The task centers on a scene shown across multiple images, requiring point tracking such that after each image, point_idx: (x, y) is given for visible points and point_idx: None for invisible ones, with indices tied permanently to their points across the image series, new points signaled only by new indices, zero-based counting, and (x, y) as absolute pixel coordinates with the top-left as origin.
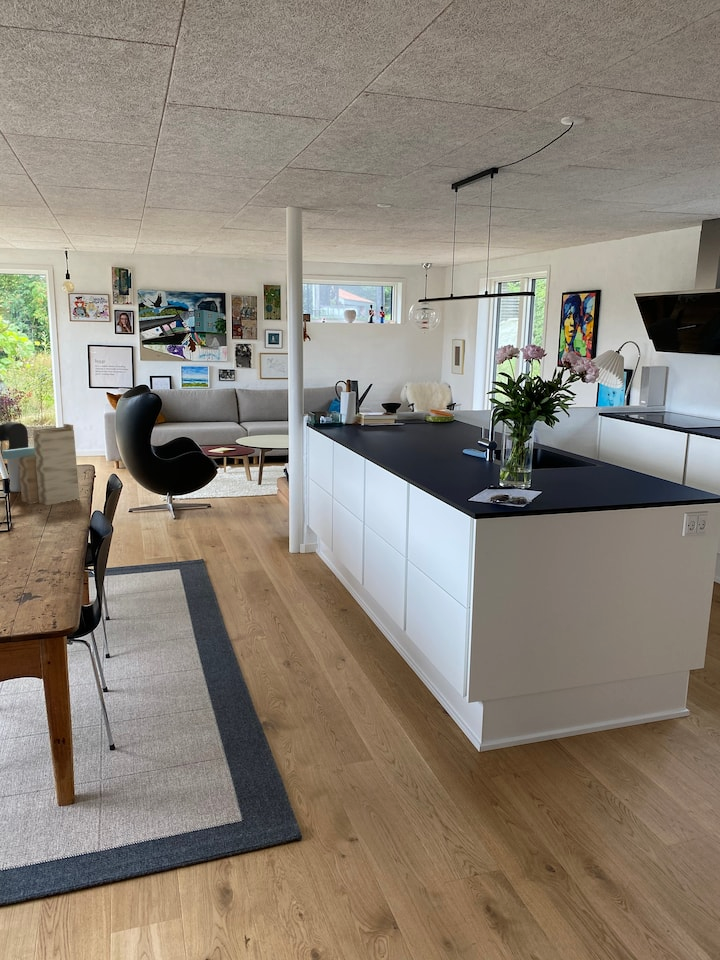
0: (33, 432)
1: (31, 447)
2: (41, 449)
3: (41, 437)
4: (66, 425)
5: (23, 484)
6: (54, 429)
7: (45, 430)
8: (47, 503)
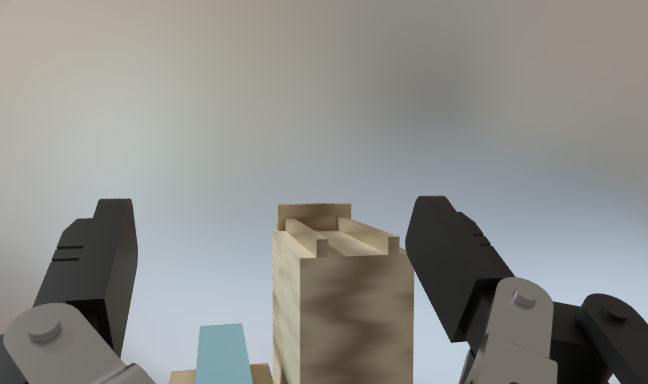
0: (308, 257)
1: (215, 371)
2: (398, 354)
3: (412, 276)
4: (305, 209)
5: None
6: (366, 225)
7: (386, 232)
8: None
